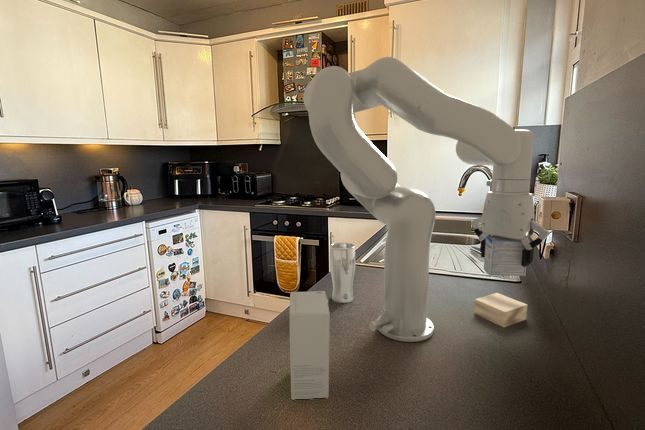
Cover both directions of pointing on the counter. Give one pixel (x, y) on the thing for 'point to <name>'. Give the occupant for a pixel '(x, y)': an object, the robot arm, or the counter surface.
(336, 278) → the beer glass
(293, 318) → the skincare box
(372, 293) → the counter surface
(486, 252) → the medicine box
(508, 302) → the oak block
